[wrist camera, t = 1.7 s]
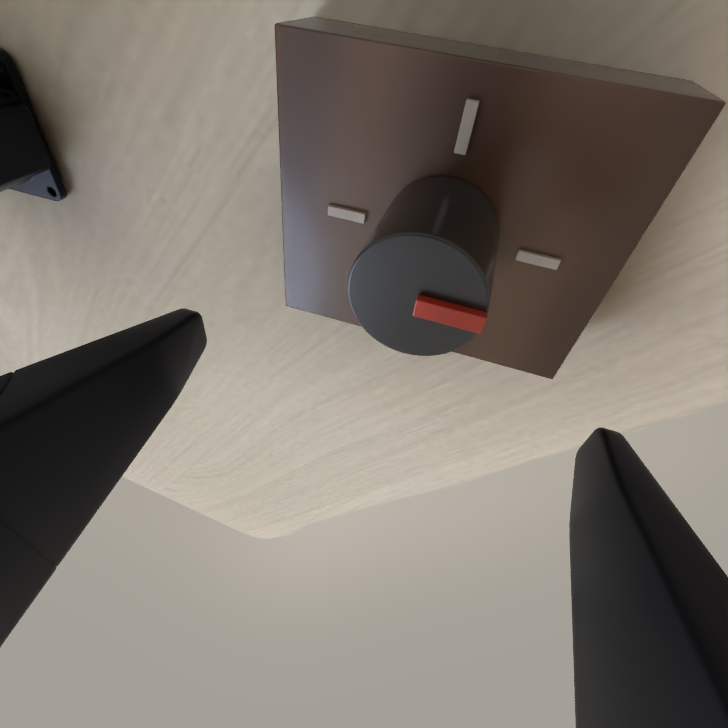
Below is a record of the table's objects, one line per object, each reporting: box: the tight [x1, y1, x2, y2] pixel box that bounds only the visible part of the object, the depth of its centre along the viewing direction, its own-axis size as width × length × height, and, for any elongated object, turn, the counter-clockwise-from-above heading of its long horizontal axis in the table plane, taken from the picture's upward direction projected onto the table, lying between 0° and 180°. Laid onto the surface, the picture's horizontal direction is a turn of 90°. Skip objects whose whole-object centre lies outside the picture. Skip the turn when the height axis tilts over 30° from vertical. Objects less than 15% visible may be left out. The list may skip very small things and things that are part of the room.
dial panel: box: [275, 17, 726, 379], centre depth 15 cm, size 12×10×3 cm
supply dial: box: [347, 177, 499, 356], centre depth 13 cm, size 4×4×4 cm
